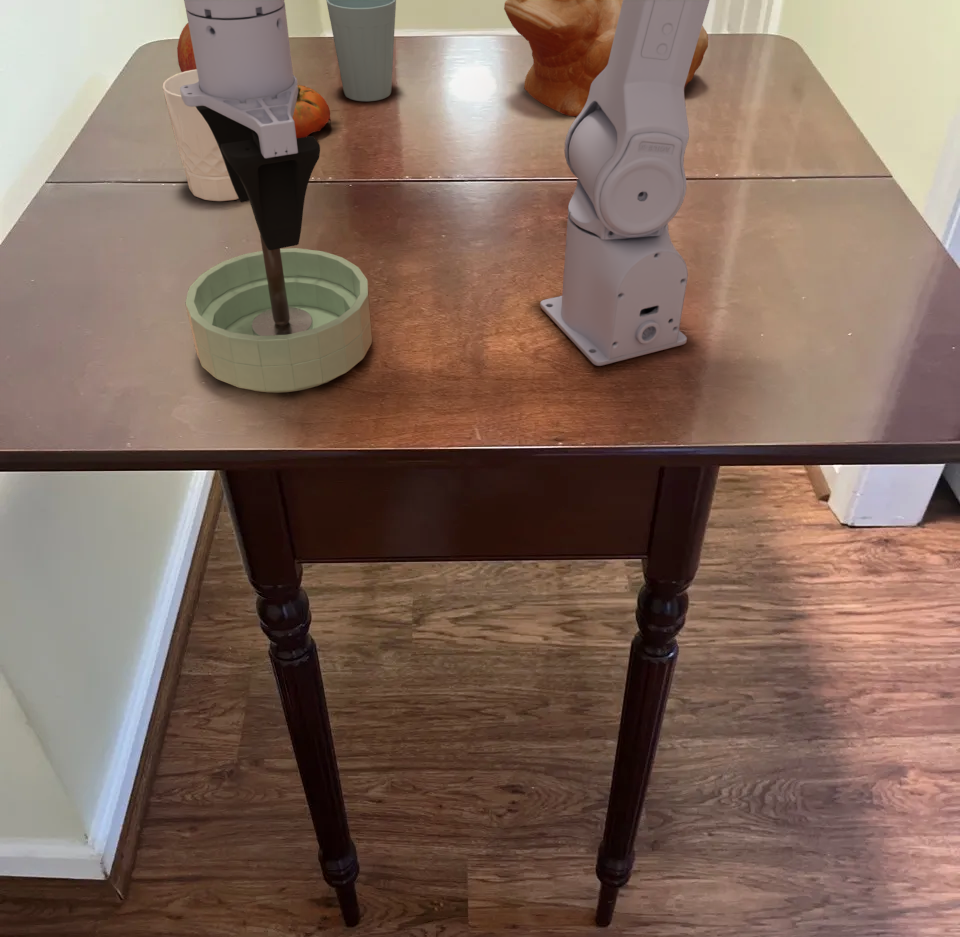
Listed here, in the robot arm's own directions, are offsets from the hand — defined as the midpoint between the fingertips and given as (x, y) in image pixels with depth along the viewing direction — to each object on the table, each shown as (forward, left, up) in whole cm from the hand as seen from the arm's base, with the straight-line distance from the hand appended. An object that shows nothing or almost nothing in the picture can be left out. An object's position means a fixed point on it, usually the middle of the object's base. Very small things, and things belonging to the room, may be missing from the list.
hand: (267, 220), depth 65 cm
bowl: (0, 0, -10) cm, 10 cm away
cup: (+49, -23, -11) cm, 55 cm away
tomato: (+41, -12, -11) cm, 44 cm away
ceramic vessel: (+39, -49, -11) cm, 64 cm away
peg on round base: (0, 0, -10) cm, 10 cm away
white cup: (+30, -2, -11) cm, 32 cm away
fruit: (+54, -8, -11) cm, 56 cm away
